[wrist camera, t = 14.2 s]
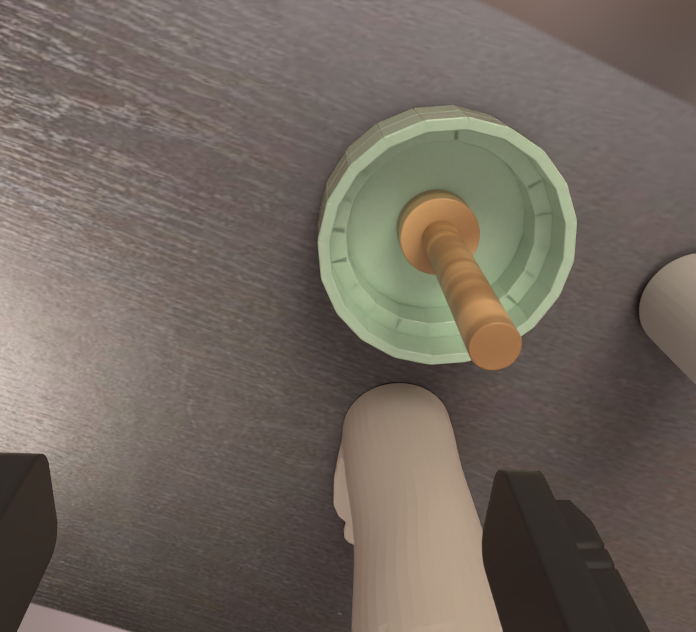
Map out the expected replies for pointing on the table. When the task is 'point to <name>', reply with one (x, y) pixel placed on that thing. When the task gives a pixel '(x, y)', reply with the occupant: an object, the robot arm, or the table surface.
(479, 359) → the pestle
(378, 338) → the bowl
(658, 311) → the beverage can
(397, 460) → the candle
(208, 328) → the table surface
